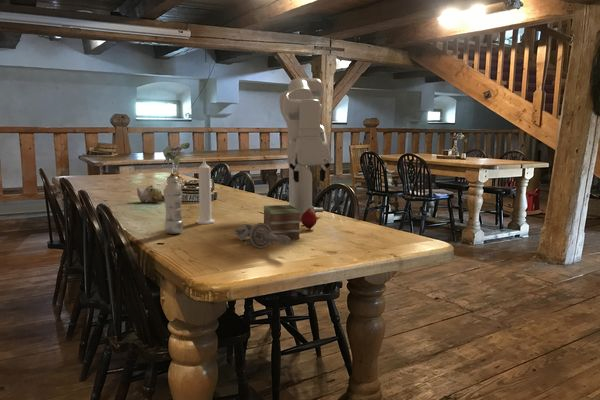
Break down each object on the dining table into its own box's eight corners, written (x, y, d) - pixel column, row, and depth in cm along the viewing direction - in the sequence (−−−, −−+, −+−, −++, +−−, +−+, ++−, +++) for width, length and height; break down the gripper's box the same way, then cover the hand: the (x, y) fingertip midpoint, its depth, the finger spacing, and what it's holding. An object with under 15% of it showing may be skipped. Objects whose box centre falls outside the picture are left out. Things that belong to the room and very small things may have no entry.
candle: (210, 224, 191) (209, 159, 187) (193, 223, 192) (191, 159, 189) (217, 221, 198) (216, 158, 194) (200, 220, 199) (199, 157, 195)
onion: (311, 231, 180) (311, 209, 179) (298, 229, 183) (298, 208, 182) (319, 228, 185) (319, 207, 184) (306, 226, 188) (306, 205, 187)
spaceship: (275, 235, 138) (296, 221, 142) (222, 226, 167) (241, 215, 171) (285, 260, 140) (306, 246, 144) (231, 247, 169) (250, 235, 173)
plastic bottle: (167, 236, 171) (165, 178, 168) (162, 232, 177) (160, 176, 174) (185, 234, 174) (184, 177, 171) (181, 230, 180) (179, 175, 177)
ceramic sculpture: (140, 183, 247) (170, 185, 248) (140, 200, 249) (170, 202, 249) (133, 186, 237) (165, 188, 237) (133, 203, 238) (164, 205, 239)
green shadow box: (291, 232, 178) (291, 204, 176) (300, 239, 167) (300, 209, 166) (263, 234, 175) (263, 205, 173) (271, 241, 164) (271, 210, 163)
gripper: (328, 134, 185) (327, 179, 187) (283, 133, 179) (283, 181, 182) (335, 134, 177) (335, 182, 180) (289, 134, 172) (289, 183, 175)
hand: (309, 181), depth 181 cm, fingers open, 9 cm apart
